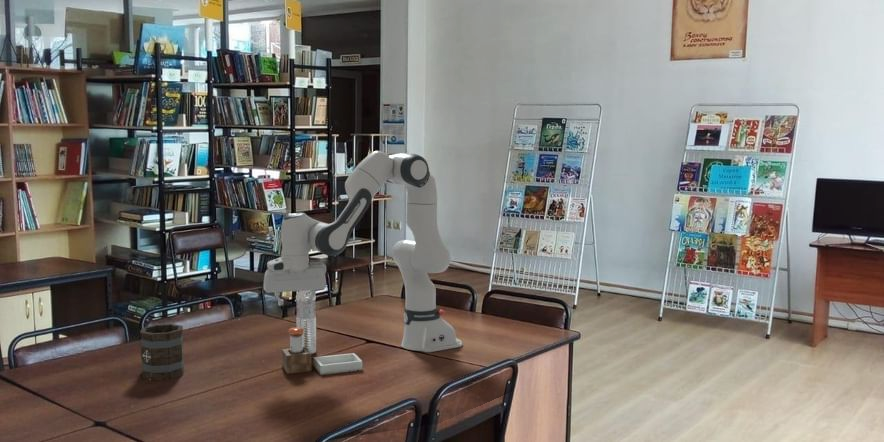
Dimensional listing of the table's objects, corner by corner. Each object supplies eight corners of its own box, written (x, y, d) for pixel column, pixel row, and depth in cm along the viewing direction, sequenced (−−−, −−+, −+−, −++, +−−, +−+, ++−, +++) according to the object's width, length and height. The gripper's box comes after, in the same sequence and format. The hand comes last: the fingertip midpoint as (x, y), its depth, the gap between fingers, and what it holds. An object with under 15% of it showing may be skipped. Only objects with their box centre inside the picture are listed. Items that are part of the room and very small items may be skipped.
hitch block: (306, 364, 260) (305, 346, 260) (311, 371, 253) (311, 353, 252) (282, 366, 257) (282, 349, 257) (286, 373, 250) (286, 355, 249)
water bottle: (312, 356, 269) (311, 286, 266) (293, 355, 271) (292, 285, 268) (319, 350, 276) (318, 282, 273) (301, 349, 277) (300, 281, 274)
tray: (354, 361, 264) (354, 353, 263) (362, 370, 254) (362, 361, 254) (313, 366, 258) (313, 357, 258) (320, 374, 249) (320, 365, 249)
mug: (191, 375, 247) (189, 330, 246) (147, 383, 240) (146, 336, 238) (172, 360, 263) (170, 318, 261) (131, 367, 255) (129, 323, 254)
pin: (302, 366, 258) (301, 326, 257) (305, 370, 254) (304, 330, 252) (288, 367, 256) (287, 328, 255) (290, 371, 252) (290, 331, 250)
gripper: (324, 259, 258) (324, 300, 259) (262, 262, 250) (262, 304, 252) (328, 262, 252) (328, 304, 253) (265, 265, 244) (265, 308, 246)
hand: (295, 304), depth 252 cm, fingers open, 8 cm apart
